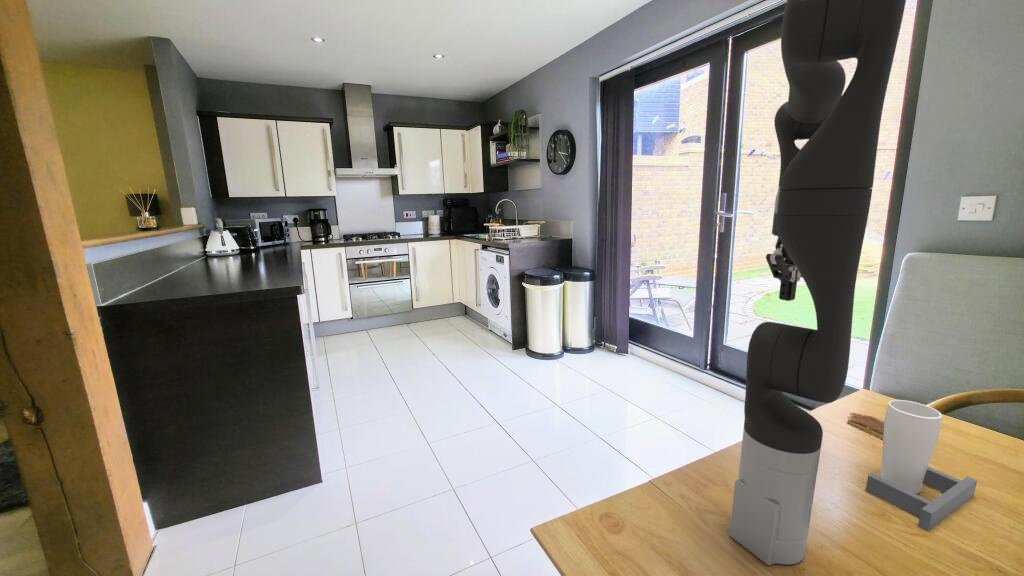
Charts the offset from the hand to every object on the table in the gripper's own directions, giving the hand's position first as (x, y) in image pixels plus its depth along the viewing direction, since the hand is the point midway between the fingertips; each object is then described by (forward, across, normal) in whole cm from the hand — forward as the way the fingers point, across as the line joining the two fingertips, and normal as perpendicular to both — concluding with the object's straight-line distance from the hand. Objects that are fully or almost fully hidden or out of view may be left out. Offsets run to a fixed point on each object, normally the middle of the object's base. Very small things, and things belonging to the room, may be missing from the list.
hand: (786, 299), depth 81 cm
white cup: (+31, +7, -19) cm, 37 cm away
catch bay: (+31, +6, -22) cm, 38 cm away
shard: (+32, +26, -8) cm, 42 cm away
